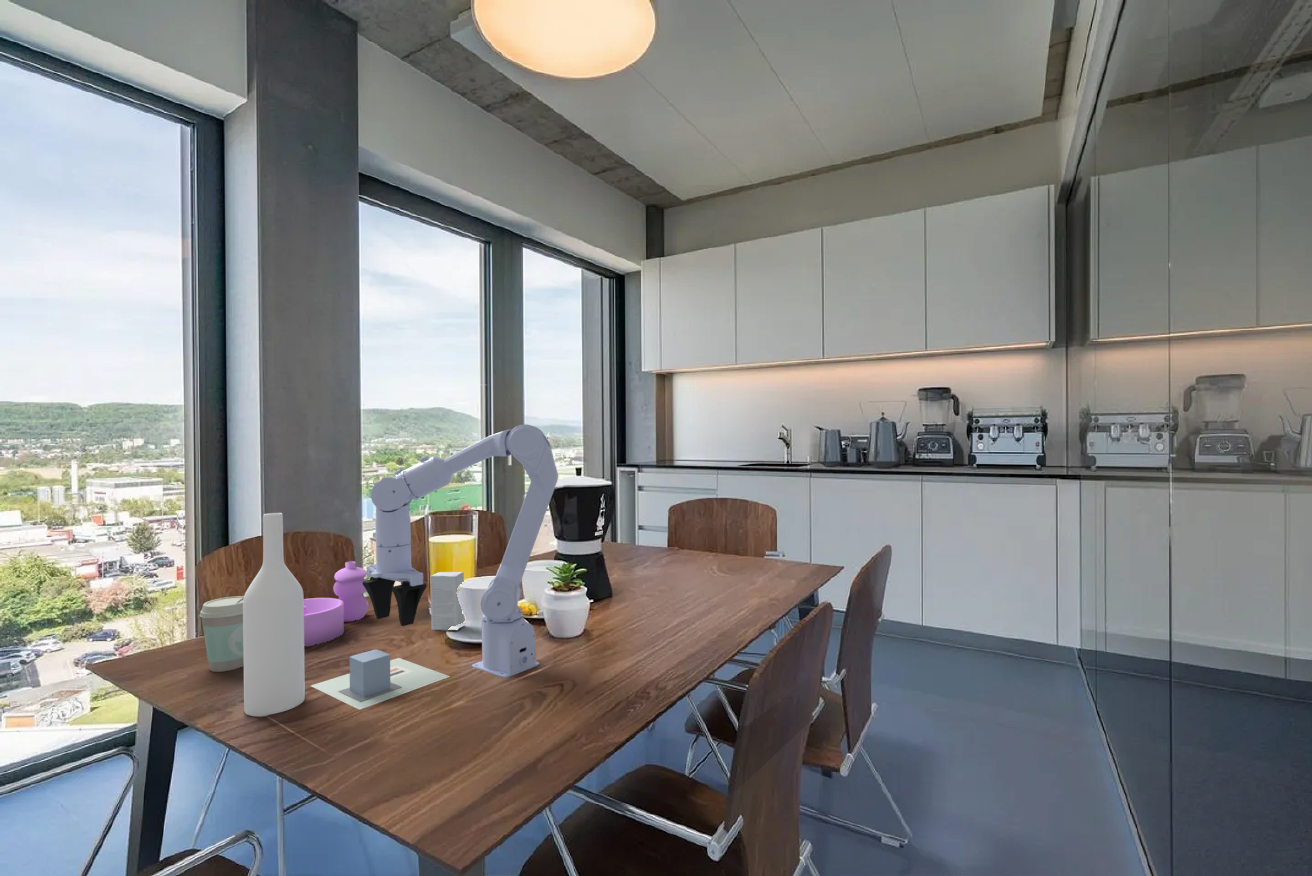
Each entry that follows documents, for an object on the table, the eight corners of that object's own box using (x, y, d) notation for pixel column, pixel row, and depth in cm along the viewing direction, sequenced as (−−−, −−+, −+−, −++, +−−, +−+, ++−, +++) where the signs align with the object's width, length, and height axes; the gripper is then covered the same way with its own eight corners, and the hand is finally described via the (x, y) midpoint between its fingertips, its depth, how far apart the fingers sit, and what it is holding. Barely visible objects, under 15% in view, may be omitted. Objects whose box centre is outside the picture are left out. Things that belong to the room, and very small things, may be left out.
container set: (303, 652, 122) (302, 585, 122) (242, 646, 126) (241, 581, 126) (389, 616, 146) (389, 560, 146) (336, 612, 150) (335, 558, 150)
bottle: (258, 722, 91) (256, 518, 91) (234, 709, 96) (232, 515, 96) (314, 702, 98) (312, 512, 98) (290, 691, 103) (287, 509, 103)
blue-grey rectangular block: (390, 688, 102) (390, 654, 102) (363, 697, 99) (363, 662, 99) (376, 681, 105) (376, 649, 105) (349, 690, 102) (349, 656, 102)
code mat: (450, 678, 107) (450, 676, 107) (359, 711, 94) (359, 709, 94) (398, 659, 117) (398, 657, 117) (310, 687, 104) (310, 685, 104)
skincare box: (465, 625, 138) (464, 571, 138) (457, 631, 133) (456, 576, 133) (439, 625, 138) (438, 571, 138) (430, 631, 134) (429, 575, 134)
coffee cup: (228, 676, 109) (227, 608, 109) (187, 673, 111) (187, 606, 111) (267, 659, 118) (266, 596, 118) (229, 656, 120) (228, 594, 120)
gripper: (349, 544, 111) (351, 620, 111) (396, 552, 103) (397, 634, 103) (386, 538, 117) (387, 610, 117) (433, 545, 109) (434, 623, 109)
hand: (394, 621), depth 110 cm, fingers open, 7 cm apart
